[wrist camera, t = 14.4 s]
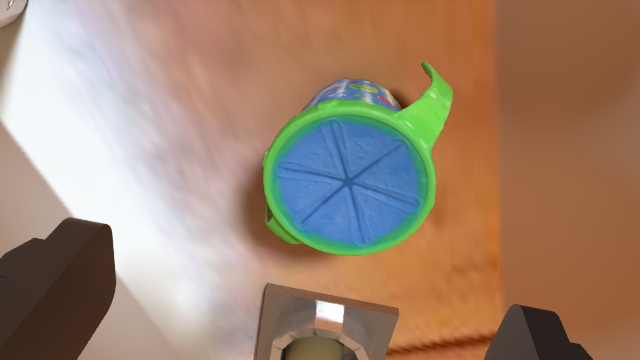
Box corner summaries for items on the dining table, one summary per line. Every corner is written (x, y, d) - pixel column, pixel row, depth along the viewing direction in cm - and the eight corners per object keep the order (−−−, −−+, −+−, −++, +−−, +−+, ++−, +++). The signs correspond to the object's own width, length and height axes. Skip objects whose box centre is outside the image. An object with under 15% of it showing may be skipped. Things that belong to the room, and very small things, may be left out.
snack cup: (400, 1, 33) (407, 41, 25) (479, 116, 37) (510, 186, 28) (237, 125, 40) (198, 192, 31) (319, 214, 43) (304, 296, 34)
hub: (256, 362, 54) (249, 389, 51) (267, 283, 48) (260, 308, 45) (372, 385, 54) (371, 413, 51) (398, 308, 48) (399, 335, 45)
